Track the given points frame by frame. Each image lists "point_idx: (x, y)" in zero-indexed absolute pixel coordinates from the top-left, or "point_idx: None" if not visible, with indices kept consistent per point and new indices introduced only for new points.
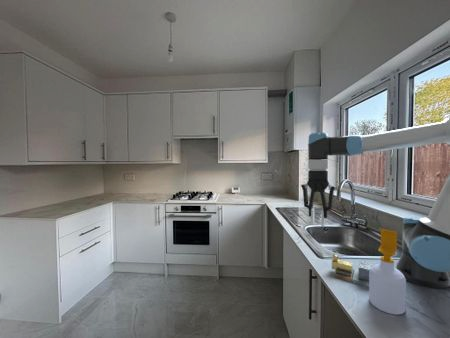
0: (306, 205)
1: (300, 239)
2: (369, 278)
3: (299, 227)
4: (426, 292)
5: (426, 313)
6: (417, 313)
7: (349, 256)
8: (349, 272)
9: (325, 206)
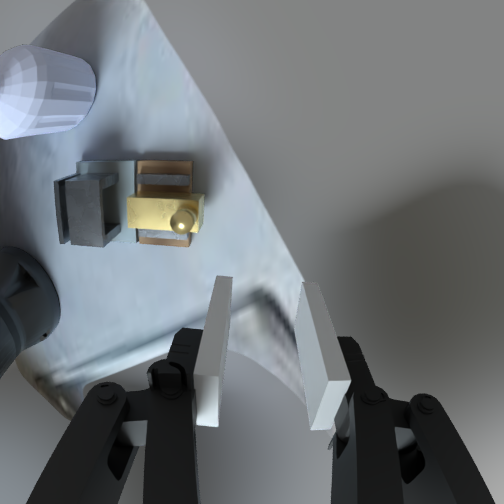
0: (418, 412)
1: None
2: (61, 78)
3: None
4: (8, 219)
5: None
6: None
7: None
8: (143, 191)
9: (152, 423)
